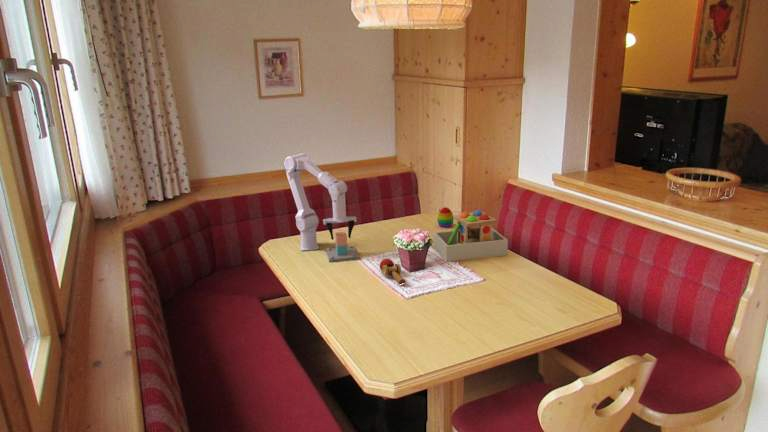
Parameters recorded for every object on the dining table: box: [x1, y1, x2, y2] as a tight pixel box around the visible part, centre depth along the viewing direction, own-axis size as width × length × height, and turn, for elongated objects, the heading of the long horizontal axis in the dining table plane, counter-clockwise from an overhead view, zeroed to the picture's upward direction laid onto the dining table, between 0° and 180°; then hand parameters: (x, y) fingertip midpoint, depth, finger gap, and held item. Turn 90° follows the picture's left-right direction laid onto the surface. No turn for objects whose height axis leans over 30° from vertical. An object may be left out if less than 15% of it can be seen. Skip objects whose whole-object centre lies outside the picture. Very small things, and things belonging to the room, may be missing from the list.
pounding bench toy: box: [447, 209, 497, 245], centre depth 242 cm, size 23×14×18 cm, turn 109°
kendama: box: [379, 258, 406, 285], centre depth 220 cm, size 8×6×18 cm
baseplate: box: [325, 245, 360, 263], centre depth 246 cm, size 14×13×2 cm
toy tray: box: [433, 227, 509, 263], centre depth 245 cm, size 19×28×7 cm
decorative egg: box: [437, 207, 455, 229], centre depth 279 cm, size 8×8×10 cm
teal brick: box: [335, 243, 348, 255], centre depth 245 cm, size 6×4×4 cm
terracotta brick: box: [334, 230, 348, 246], centre depth 243 cm, size 6×4×4 cm
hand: (340, 238), depth 244 cm, fingers open, 7 cm apart
